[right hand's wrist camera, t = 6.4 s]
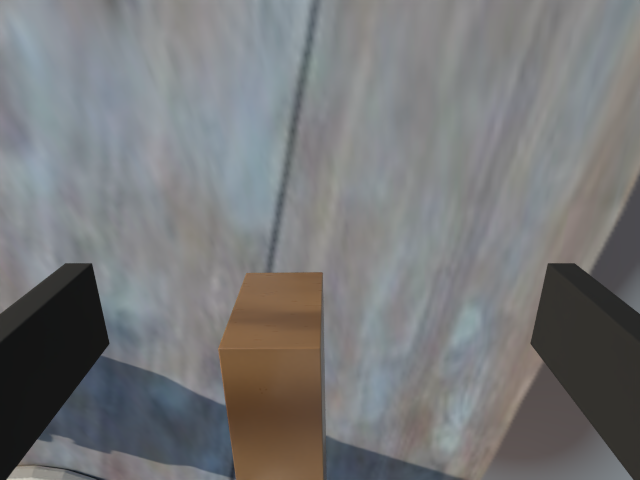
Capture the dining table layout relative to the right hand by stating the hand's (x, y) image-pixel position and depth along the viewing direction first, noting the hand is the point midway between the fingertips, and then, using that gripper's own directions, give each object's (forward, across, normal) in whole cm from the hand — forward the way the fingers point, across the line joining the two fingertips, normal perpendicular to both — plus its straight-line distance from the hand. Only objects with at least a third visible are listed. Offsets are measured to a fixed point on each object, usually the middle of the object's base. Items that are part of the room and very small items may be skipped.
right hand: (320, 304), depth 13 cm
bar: (+15, -2, -20) cm, 25 cm away
